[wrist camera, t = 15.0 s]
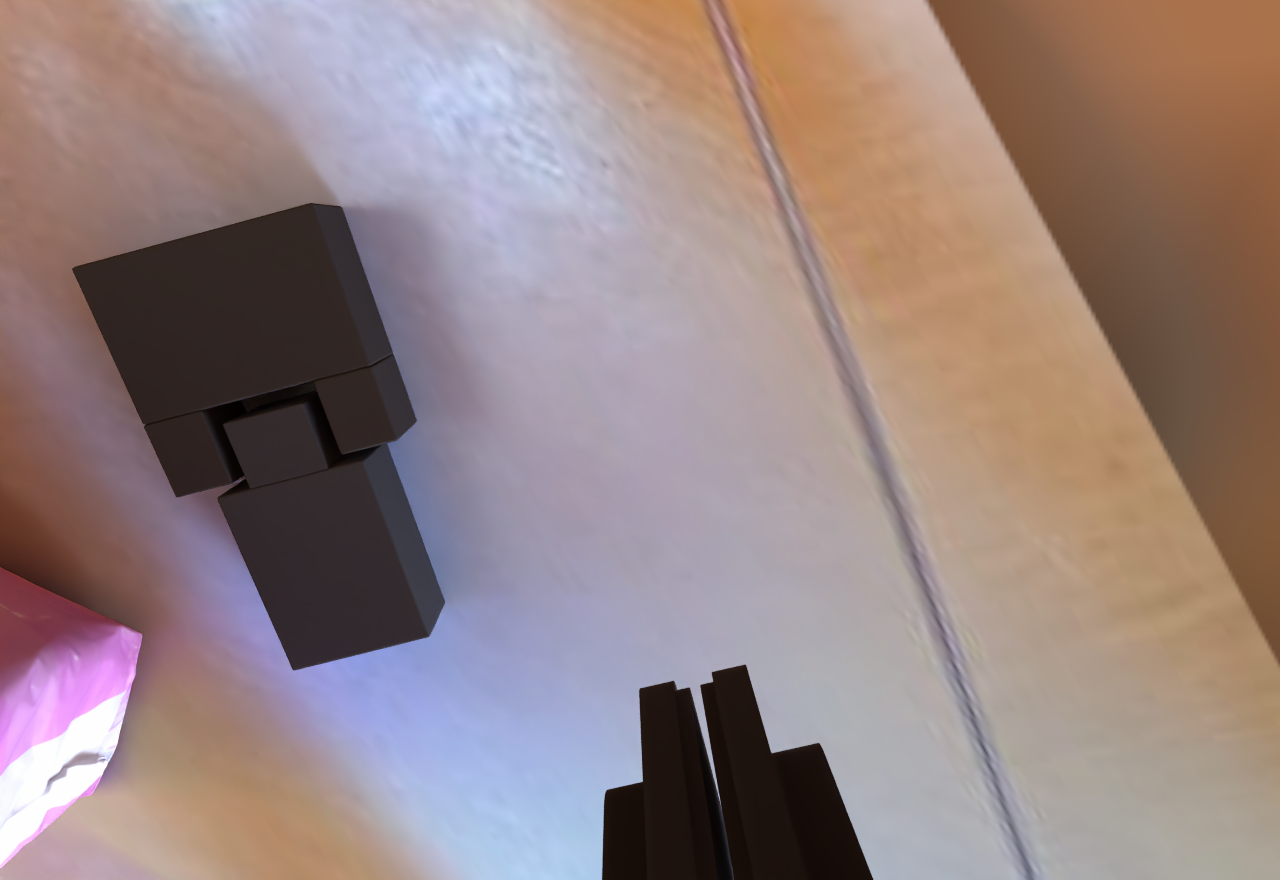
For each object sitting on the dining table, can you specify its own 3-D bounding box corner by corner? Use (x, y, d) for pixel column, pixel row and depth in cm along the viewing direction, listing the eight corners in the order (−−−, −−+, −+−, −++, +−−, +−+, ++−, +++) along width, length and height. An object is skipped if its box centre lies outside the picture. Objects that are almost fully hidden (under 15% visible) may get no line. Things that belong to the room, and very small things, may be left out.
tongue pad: (363, 378, 30) (337, 393, 28) (445, 602, 33) (430, 637, 30) (226, 414, 31) (186, 433, 28) (320, 634, 34) (292, 672, 31)
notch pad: (342, 205, 29) (311, 202, 26) (417, 421, 31) (397, 440, 28) (124, 264, 29) (70, 267, 26) (215, 473, 31) (175, 498, 28)
